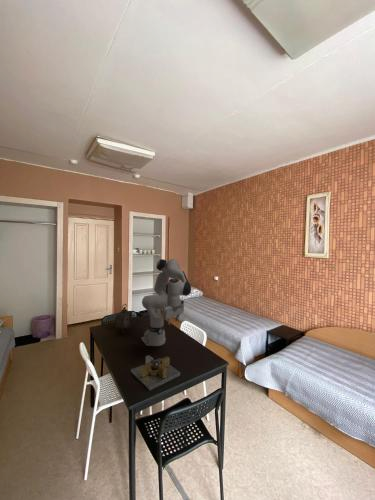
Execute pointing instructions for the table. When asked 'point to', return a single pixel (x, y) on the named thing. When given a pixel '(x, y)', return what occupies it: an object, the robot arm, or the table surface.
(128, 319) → the tabletop clock
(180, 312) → the robot arm
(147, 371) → the gold propeller
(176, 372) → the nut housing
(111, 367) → the table surface
